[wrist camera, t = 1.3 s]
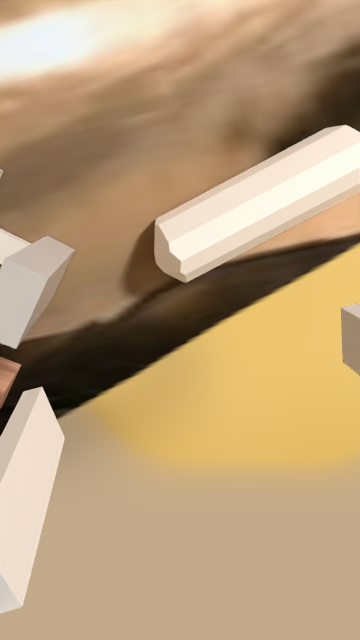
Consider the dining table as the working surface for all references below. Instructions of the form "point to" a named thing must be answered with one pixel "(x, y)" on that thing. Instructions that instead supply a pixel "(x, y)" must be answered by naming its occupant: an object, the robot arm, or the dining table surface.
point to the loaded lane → (7, 377)
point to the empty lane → (27, 281)
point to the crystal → (259, 203)
